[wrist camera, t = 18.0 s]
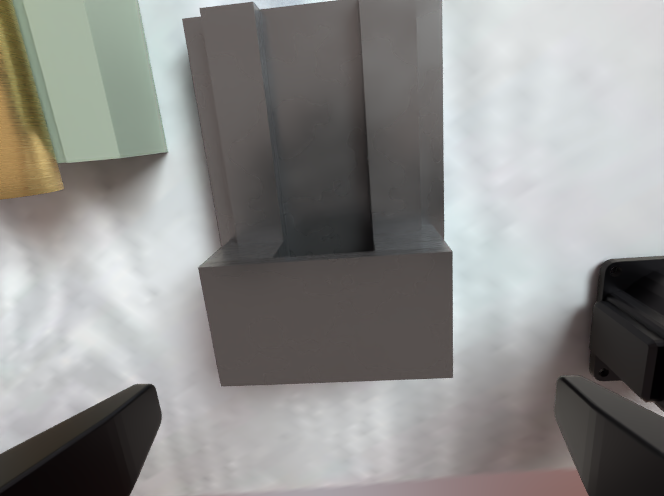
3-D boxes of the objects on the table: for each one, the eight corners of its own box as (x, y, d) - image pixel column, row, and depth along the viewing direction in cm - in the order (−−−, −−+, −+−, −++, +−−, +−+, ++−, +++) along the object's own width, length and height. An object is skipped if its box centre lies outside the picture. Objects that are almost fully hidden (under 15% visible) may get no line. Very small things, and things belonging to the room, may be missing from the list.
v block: (106, -158, 16) (25, -250, 12) (167, 152, 19) (120, 158, 15) (-95, -126, 17) (-231, -202, 13) (-2, 167, 20) (-87, 176, 16)
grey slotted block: (432, 3, 17) (470, -60, 11) (436, 309, 21) (466, 377, 15) (201, 30, 18) (127, -16, 12) (248, 318, 22) (208, 386, 16)
